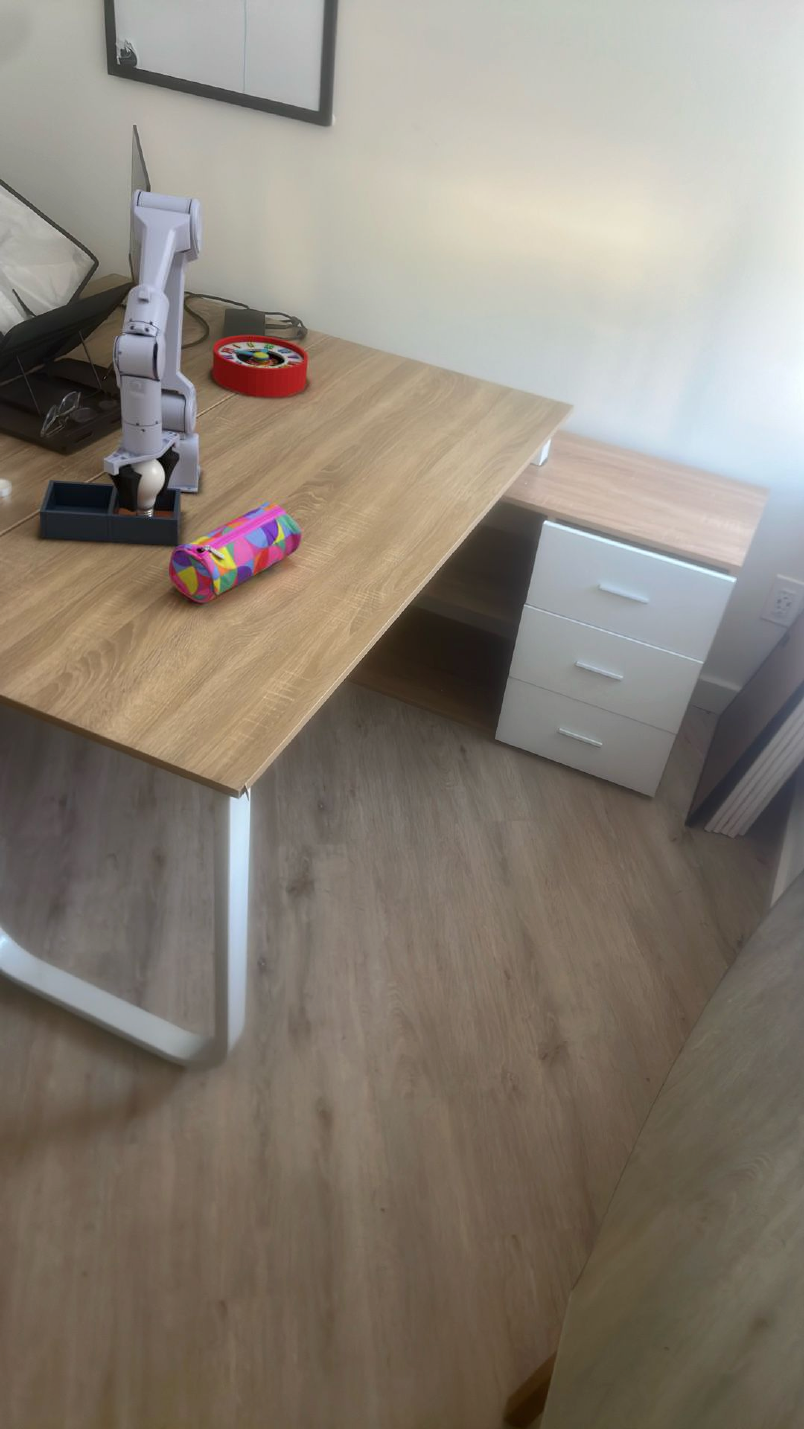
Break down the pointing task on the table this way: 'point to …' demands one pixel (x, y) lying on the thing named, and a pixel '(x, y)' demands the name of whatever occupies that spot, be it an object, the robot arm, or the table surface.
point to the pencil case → (233, 552)
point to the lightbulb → (148, 485)
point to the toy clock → (259, 366)
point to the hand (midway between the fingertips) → (144, 502)
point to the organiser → (106, 515)
